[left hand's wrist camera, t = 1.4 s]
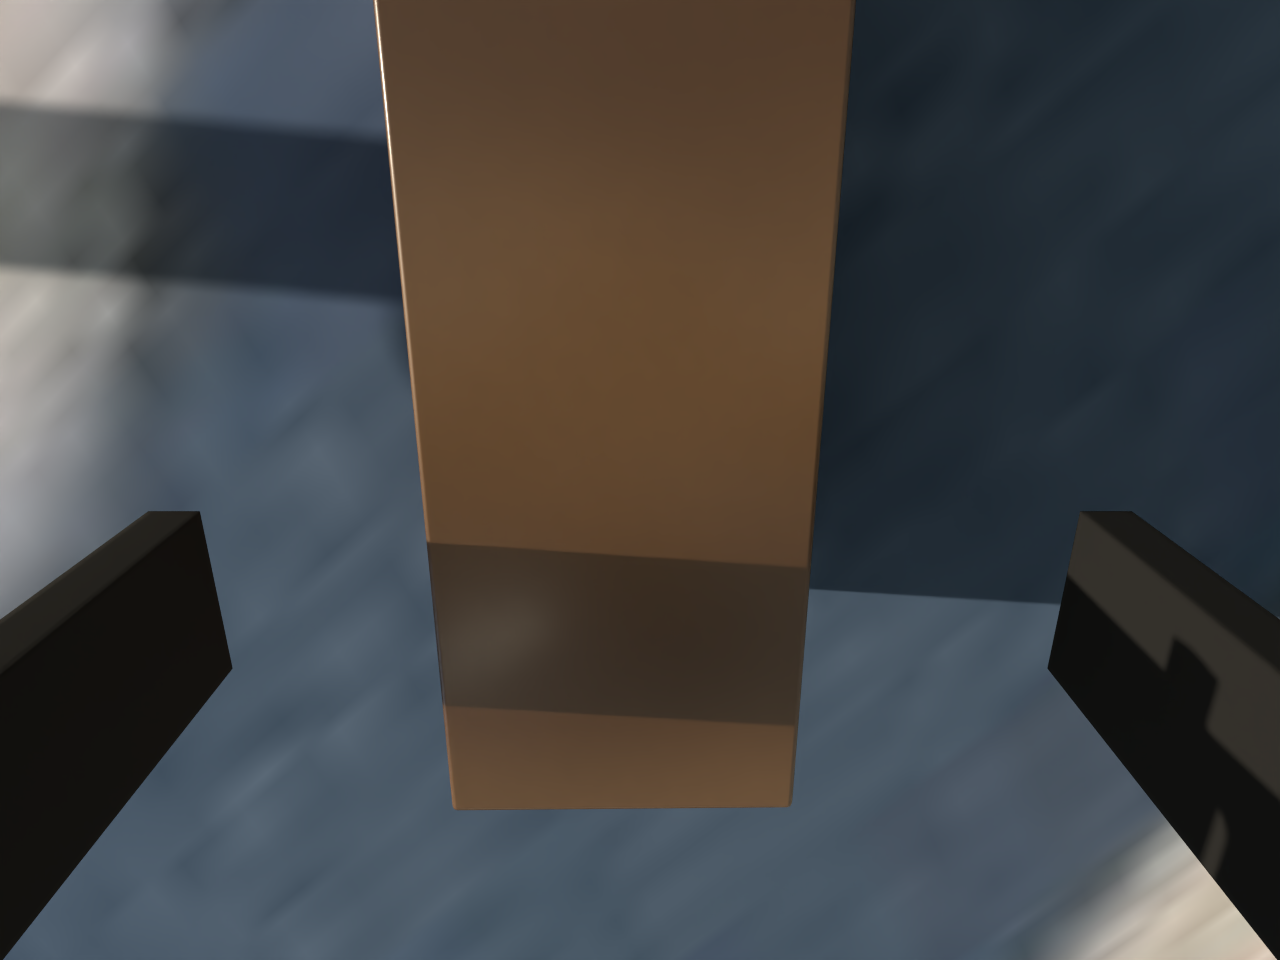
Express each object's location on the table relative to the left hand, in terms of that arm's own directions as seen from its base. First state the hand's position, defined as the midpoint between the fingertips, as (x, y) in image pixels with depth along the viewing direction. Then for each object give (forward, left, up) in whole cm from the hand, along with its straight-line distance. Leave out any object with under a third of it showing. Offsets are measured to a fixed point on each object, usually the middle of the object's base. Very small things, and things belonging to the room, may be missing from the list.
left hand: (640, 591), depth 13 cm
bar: (+5, +6, -8) cm, 11 cm away
